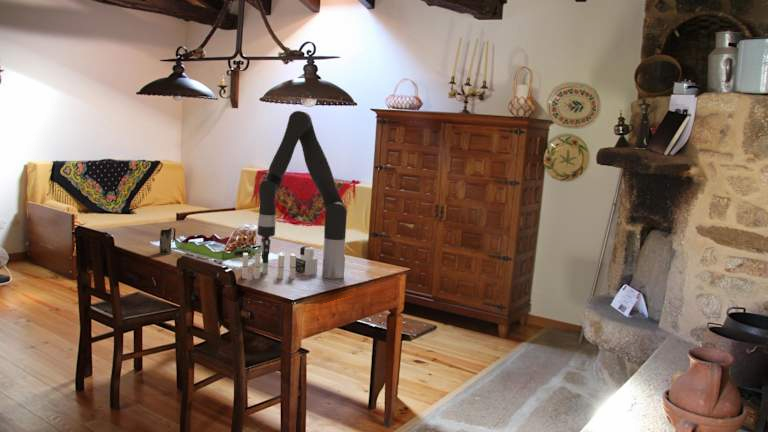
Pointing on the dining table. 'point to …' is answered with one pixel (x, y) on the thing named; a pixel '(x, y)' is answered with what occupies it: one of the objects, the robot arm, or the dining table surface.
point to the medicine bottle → (306, 262)
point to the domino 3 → (265, 267)
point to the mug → (166, 241)
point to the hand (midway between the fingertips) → (264, 260)
